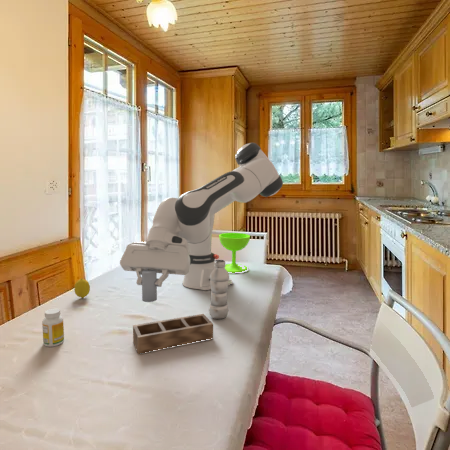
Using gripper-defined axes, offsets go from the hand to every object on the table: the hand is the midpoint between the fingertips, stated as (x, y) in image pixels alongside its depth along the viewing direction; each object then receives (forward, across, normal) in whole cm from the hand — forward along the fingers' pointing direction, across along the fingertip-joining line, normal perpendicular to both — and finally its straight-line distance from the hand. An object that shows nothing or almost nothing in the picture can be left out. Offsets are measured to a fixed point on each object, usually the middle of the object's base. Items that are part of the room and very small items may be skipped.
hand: (148, 285), depth 94 cm
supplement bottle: (+16, -28, +10) cm, 33 cm away
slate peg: (+3, 0, +3) cm, 4 cm away
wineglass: (-46, +12, +72) cm, 86 cm away
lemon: (-8, -40, +34) cm, 53 cm away
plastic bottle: (-4, +15, +30) cm, 34 cm away
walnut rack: (+10, +6, +16) cm, 20 cm away
